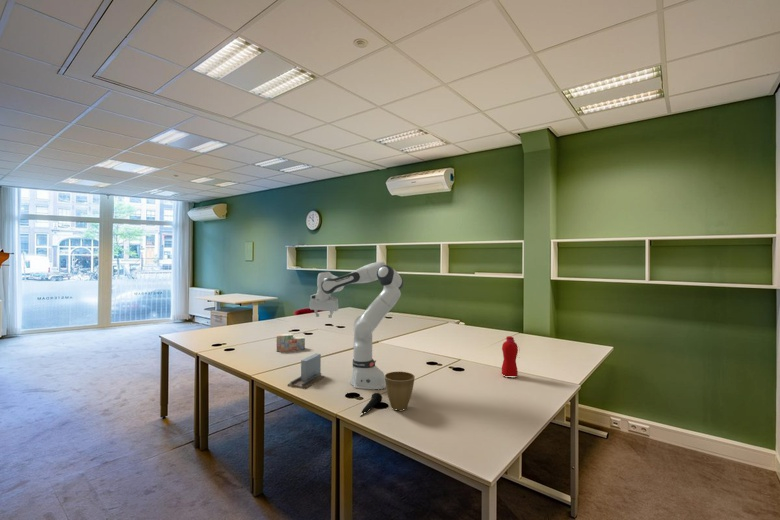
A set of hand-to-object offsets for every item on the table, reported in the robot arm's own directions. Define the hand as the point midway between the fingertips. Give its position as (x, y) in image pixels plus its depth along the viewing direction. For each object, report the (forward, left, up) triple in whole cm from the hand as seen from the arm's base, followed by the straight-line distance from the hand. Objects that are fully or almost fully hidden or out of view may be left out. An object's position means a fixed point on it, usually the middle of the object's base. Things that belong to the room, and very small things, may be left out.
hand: (323, 317), depth 241 cm
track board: (-3, +25, -34) cm, 42 cm away
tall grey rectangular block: (-3, +19, -33) cm, 38 cm away
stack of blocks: (+48, -32, -34) cm, 67 cm away
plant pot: (-66, +40, -34) cm, 84 cm away
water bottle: (-117, -30, -34) cm, 126 cm away
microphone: (-52, +45, -35) cm, 77 cm away
